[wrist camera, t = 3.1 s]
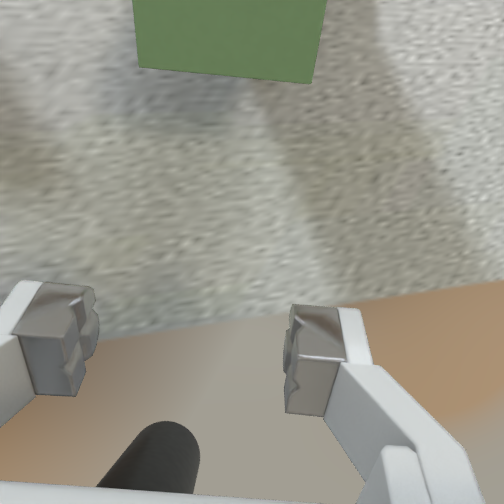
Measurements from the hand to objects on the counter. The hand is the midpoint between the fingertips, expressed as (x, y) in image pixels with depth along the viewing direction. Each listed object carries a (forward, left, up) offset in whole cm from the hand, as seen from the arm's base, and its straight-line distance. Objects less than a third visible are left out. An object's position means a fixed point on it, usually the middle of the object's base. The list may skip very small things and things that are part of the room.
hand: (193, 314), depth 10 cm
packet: (+15, 0, -9) cm, 17 cm away
